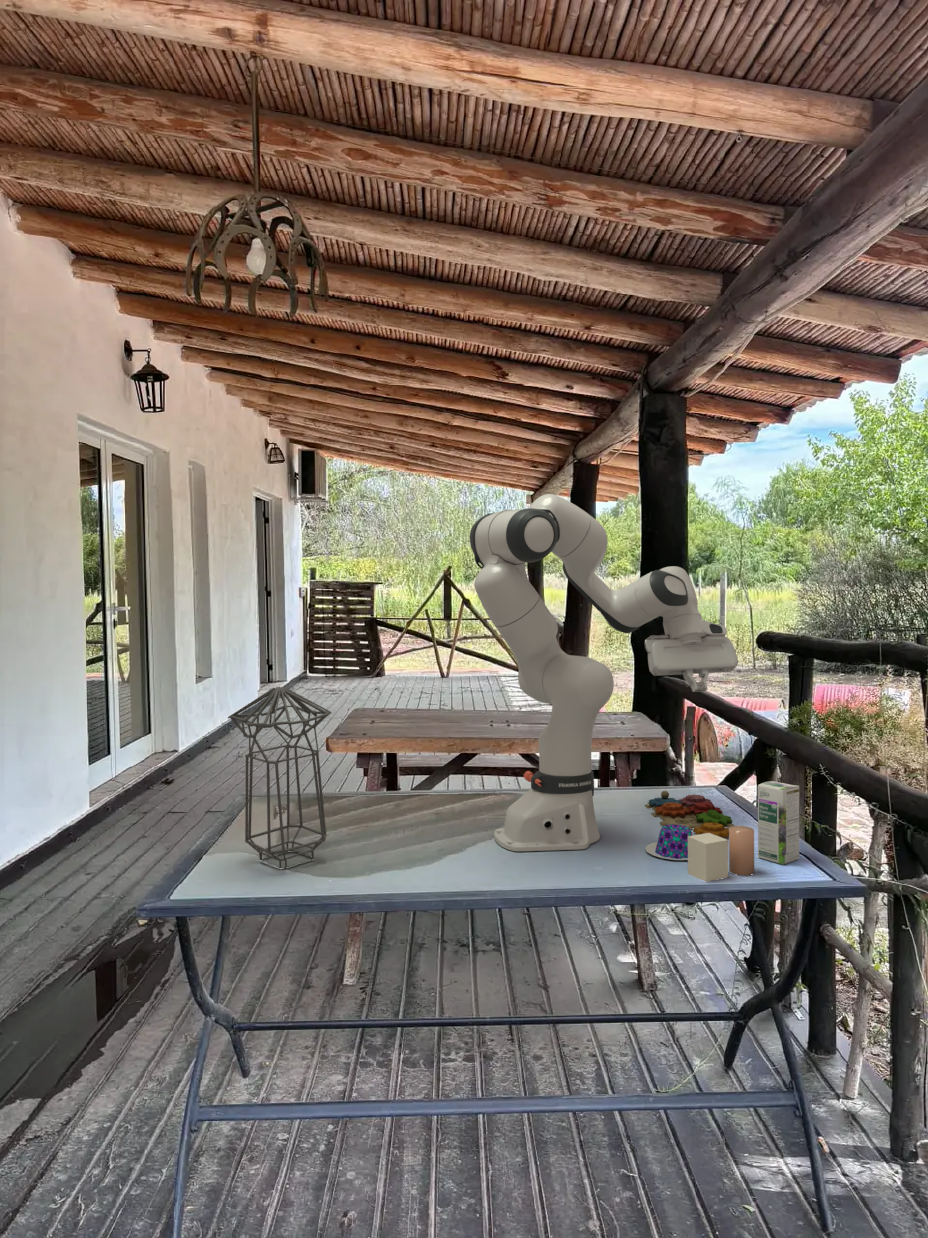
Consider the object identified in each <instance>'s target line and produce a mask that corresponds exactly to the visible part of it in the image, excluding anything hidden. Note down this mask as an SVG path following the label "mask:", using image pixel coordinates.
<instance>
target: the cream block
mask: <svg viewBox="0 0 928 1238" xmlns="http://www.w3.org/2000/svg"><path fill="white" fill-rule="evenodd" d="M687 859H688V860H687V874H688V875H689V876H692V877H694V878H696V879H698V878H699V879H698V880H700V879H701V881H702V880H704V881H706V882H705V883H708V882H707V881H711V880H716V881H718V880H717V879H721V878H725V877H728V878H729V839H727V838H725V837H719V836H716V835H714V834H711V833H705V834H699V835H696V834H692V836H688V858H687ZM721 880H722V879H721ZM704 881H703V882H704ZM711 882H712V881H711Z"/></svg>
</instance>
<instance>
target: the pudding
mask: <svg viewBox="0 0 928 1238" xmlns="http://www.w3.org/2000/svg"><path fill="white" fill-rule="evenodd" d="M658 834H659V835H658V838H657V841H654V842H652V843H649V844H648V845H646V846H645V851H646V853H648V854H650V855H651V856H655V857H658V858H660V859H667V860H671V861H688V836H693V831H692V830H690V829H689V828H688V827H687V826H683V825H674V824H670V825H665V826H662V827H661V828H660V830H659V833H658Z"/></svg>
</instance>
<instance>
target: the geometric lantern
mask: <svg viewBox="0 0 928 1238" xmlns="http://www.w3.org/2000/svg"><path fill="white" fill-rule="evenodd" d="M280 698H281V700H282V704H283V705H282V706H280V707H278V706H279V702H280ZM286 700H287V701H288V703H289V704H290V705H287V701H286ZM260 701H262V702H260ZM259 702H260V704H258V705H257V707H256V708H254V710H253V711H252V712H250V713H242V712H244V711H245V710H247V709H249V708H251V707H253V706H254V705H256V704H257V703H259ZM294 702H295V703H296V704H297V705H298V706H297V705H296V704H295V703H294ZM269 704H270V705H269ZM268 706H269V708H268V711H267V712H264V710H265V709H266V708H267V707H268ZM309 706H310V707H312V708H313V709H315V710H312V708H310V707H309ZM288 708H292V709H293V710H294V712H295V713H296V715H297V716H298V718H299V719H300V720H295V721H291V717H290V714H289V710H288ZM278 711H280V712H279V713H278V715H277V712H278ZM284 712H285V715H286V721H279V719H280V718H281V716H282V715H283V714H284ZM301 712H303V713H306V715H307V714H308V715H307V718H305V717H304V716H303V714H302V713H301ZM273 714H274V716H273ZM331 714H332V711H330V710H328V709H327V708H325V707H323V706H321V705H319V704H317V703H315V702H313V701H312V700H310V699H308V698H305V696H302V695H300V694H298V693H296V692H295V691H293V690H291V689H290V688H289V689H288V688H287V687H285V686H276V687H272V688H271V689H270V690H268V691H266V692H265V693H262V694H261V695H260V696H258V697H257V698H256V699H254V700H252V701H251V702H249V703H247V704H245V705H244V706H243V707H241V708H239V709H238V710H237V711H235V712H234V713H232V714H231V715H228V717H227V719H230V720H231V721H232V722H233V724H234V725H235V726H236V727H237V728H238V730H240V732H241V733H242V734H243V736H242V737H244V738H248V753H247V754H245V755H244V757H245V806H244V807H245V809H244V811H245V823H244V824H245V828H244V829H245V831H244V833H245V835H244V842H245V843H246V844H248V845H249V846H250V847H251V848H252V849H254V851H256V852H257V853H258V855H259V861H260V860H262V858H263V856H266V857H271V858H270V859H274V860H276V861H278V862H279V863H278V864H279V866H278V867H279V868H283V867H282V862H283V861H284V868H286V867H289V866H292V865H295V864H296V863H295V864H291V865H289V866H288V860H289V859H292V858H296V857H299V856H304V855H308V853H311V855H310V856H312V858H311V859H314V860H315V857H314V855H315V854H314V851H315V850H316V849H317V848H318V847H319V846H320V845H322V844H323V842H326V840H327V836H328V835H327V826H326V818H325V815H326V814H325V808H324V807H325V805H324V799H323V798H324V797H323V795H324V794H323V786H322V775H321V764H320V756H319V755H320V754H319V752H320V751H319V744H318V739H317V729H316V728H317V727H318V725H320V724H321V723H322V722H323V721H324V720H325V719H326V718H327V717H329V716H330V715H331ZM276 715H277V716H276ZM311 715H313V716H314V717H311ZM260 716H261V717H263V716H265V719H264V721H263V722H260V721H259V720H260ZM244 717H246V718H244ZM252 717H253V718H252ZM251 718H252V719H251ZM272 718H273V719H272ZM250 719H251V721H250ZM272 720H273V721H272ZM237 721H238V722H239V721H240V722H241V725H240V724H239V723H238V722H237ZM255 721H256V722H255ZM268 721H269V722H268ZM312 721H314V723H313V724H310V722H312ZM297 724H302V729H301V731H300V733H298V734H295V735H294V733H293V728H292V725H297ZM245 725H246V726H247V727H248V728H247V729H248V732H246V729H245ZM282 725H288V726H289V732H290V733H288V732H287V731H285V730H284V729H283V728H282V727H280V726H282ZM251 727H255V731H254V733H253V734H252V729H251ZM307 727H308V728H307ZM270 728H273V729H274V730H275V732H276V733H277V734H278V735H279V736H280V737H281V738H282V739H283V741H284V742H285V743H286V744H284V745H281V746H276V747H270V748H265V749H263V748H262V747H261V745H260V743H259V742H258V739H257V735H258V734H259V733H260V732H262V730H263V729H270ZM306 728H307V729H306ZM312 730H313V731H314V738H315V744H316V749H313V745H312V744H311V741H310V739H309V737H308V734H307V733H309V732H310V731H312ZM248 733H249V734H248ZM282 733H283V734H284V735H285V736H286V737H288V738H289V740H286V738H285V737H284V736H283V735H282ZM302 736H304V738H305V740H306V742H307V745H308V747H309V748H308V747H304V746H300V745H298V744H299V742H300V740H301V738H302ZM251 739H252V741H251ZM293 739H296V741H295V743H294V745H292V744H290V743H291V741H292V740H293ZM255 744H256V747H257V748H258V750H255V751H254V746H255ZM282 748H283V750H282V752H281V753H280V755H279V756H278V758H277V759H276V760H269V759H268V757H267V755H266V754H265V752H267V751H272V750H277V749H282ZM290 749H294V757H290ZM298 749H302V750H305V751H309V752H311V753H309V754H305V755H304V754H303V755H300V756H298ZM285 750H286V758H285V759H284V758H283V759H281V757H282V755H283V754H284V752H285ZM259 753H261V755H262V757H263V758H264V759H262V758H258V757H255V756H254V754H259ZM307 757H311V760H312V767H313V768H312V769H313V777H314V784H315V792H316V801H317V807H318V808H317V809H318V817H319V818H318V819H319V825H320V831H319V830H316V829H313V828H312V827H311V828H310V827H308V826H305V825H303V809H302V799H301V797H302V796H301V787H300V786H301V784H300V773H299V762H298V760H299V759H302V758H307ZM254 760H257V761H260V762H263V763H265V764H266V811H267V812H266V816H267V822H266V823H267V825H266V826H267V830H265V831H262V832H258V833H255V834H252V807H253V806H252V805H253V772H254V771H253V769H254V765H253V764H254ZM292 760H294V761H295V762H294V764H295V765H294V767H295V777H296V790H297V803H298V804H297V805H298V813H299V814H298V817H299V824H290V822H291V821H290V820H291V819H290V816H291V812H290V810H291V808H290V761H292ZM283 762H286V825H284V824H283V823H284V821H283V813H282V812H283V811H282V801H281V786H280V775H279V774H280V773H279V763H283ZM270 764H272V765H274V768H275V781H276V792H277V805H278V816H279V817H278V820H279V827H275V828H273V829H271V789H270V788H271V783H270V781H271V779H270V778H271V777H270ZM289 828H298V829H297V831H296V833H295V835H294V836H293V839H292V840H290V829H289ZM284 829H286V836H287V839H286V840H285V837H284V834H285V833H284ZM301 829H304V830H307V831H310V832H313V833H314V834H317V835H320V836H321V837H320V838H319V839H318V840H315V841H314V840H313V841H311V842H307V843H305V844H304V843H300V842H297V841H296V839H297V837H298V834H299V832H300V830H301ZM278 831H280V840H281V841H280V843H277V844H275V845H272V843H271V840H272V839H271V834H272V833H274V832H278ZM265 835H267V847H266V848H264V847H262V846H260V845H258V844H256V843H255V842H254V840H253V839H254V838H257V837H260V836H265ZM285 844H286V846H285ZM289 844H291V847H289ZM294 844H295V845H294ZM271 845H272V846H271ZM279 846H281V849H278V850H272V849H274V848H277V847H279ZM302 848H309V850H306V851H302V852H300V851H297V850H298V849H302ZM288 851H295V852H298V853H299V854H298V853H295V852H294V853H295V854H293V855H290V856H287V857H286V853H285V852H288ZM281 853H283V854H282V855H283V858H279V857H278V856H275V855H277V854H281ZM302 854H304V855H302ZM262 861H263V860H262Z"/></svg>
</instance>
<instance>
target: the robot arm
mask: <svg viewBox="0 0 928 1238" xmlns="http://www.w3.org/2000/svg"><path fill="white" fill-rule="evenodd" d="M608 542H609V541H608V534H607V532H606V529H605V527H604V526H603V524H601V523H600V522H599V521H598V520H597V519H595V518H594V517H593V516H592V515H591V514H589V513H588V512H586V511H585V510H584V509H582V508H580V507H579V506H578V505H576V504H574V503H572V502H570V501H569V500H567V499H565V498H563V497H561V496H558V495H556V494H552V493H546V494H543V495H541V496H539V497H538V498H536V499H535V500H534V501H533V502H532V503H531V504H530V505H529V508H522V509H503V510H500V511H496V512H491V513H487V514H485V515H483V516H481V517H480V518H479V519H477V520H476V521H475V522H474V523H473V525H472V527H471V528H470V532H469V543H470V544H469V545H470V548H471V550H472V553H473V555H474V563H475V564H476V566H478V567H479V568H480V569H481V570H479V572H478V573H477V575H476V577H475V580H474V588H475V592H476V595H477V597H478V599H479V602H480V603H481V605H482V607H483V609H484V611H485V612H486V614H487V616H488V618H489V620H490V621H491V623H492V624H493V626H494V627H495V628H496V630H497V632H498V634H500V636H501V637H502V639H503V641H504V642H505V643H506V644H507V646H508V648H509V649H510V650H511V652H512V654H513V657H514V658H515V661H516V663H517V666H518V667H517V668H518V675H517V680H518V685H519V687H520V689H521V691H522V692H523V693H524V694H525V695H526V696H528V697H530V698H531V699H533V700H535V701H537V702H539V703H541V704H542V703H544V704H548V705H551V713H550V717H549V721H548V723H547V725H546V727H544V728H543V729H542V730H541V731H540V734H539V736H538V754H539V755H538V758H539V759H538V761H539V762H538V766H539V769H538V770H537V771H535V773H533V772H532V771H530V770H526V771H525V772H524V773H523V779H524V780H525V781H527V782H529V783H530V789H529V790H528V791H526V792H525V793H524V794H523V795H521V796H520V797H519V798H518V799H517V800H516V801H515V802H513V803H512V804H510V805H509V806H508V808H507V810H506V811H505V812H506V813H505V817H504V822H503V827H501V828H500V827H499V828H497V829H495V830H494V833H493V838H494V841H495V842H496V843H497V844H498V845H499V846H500V847H502V848H504V849H507V850H509V851H512V852H537V851H538V852H539V851H540V852H541V851H544V852H545V851H566V850H568V851H571V850H572V851H573V850H585V849H587V848H589V846H590V845H592V844H593V843H596V842H597V841H599V840H600V839H601V834H600V832H599V828H598V825H597V818H596V813H595V806H594V798H593V797H594V796H595V795H594V794H595V777H594V770H592V743H593V742H592V740H593V739H592V738H593V733H594V732H593V731H594V727H595V723H596V720H597V717H598V715H599V712H600V710H601V709H602V708H603V707H604V706H605V705H606V704H607V703H608V702H609V701H610V699H611V697H612V695H613V692H614V687H615V686H614V685H615V682H614V681H615V680H614V676H613V673H612V671H611V670H610V668H609V667H608V666H607V665H605V664H604V663H602V662H601V661H598V660H596V659H594V658H591V657H589V656H583V655H574V654H573V655H572V654H568V653H566V652H565V651H563V649H562V648H561V647H560V645H559V642H558V639H557V635H558V631H559V625H558V622H557V621H556V619H555V617H554V615H553V614H552V612H551V611H550V610H549V608H548V606H547V605H546V604H545V602H544V601H543V599H542V597H541V596H540V594H539V593H538V592H537V590H536V589H535V587H534V586H533V584H531V582H530V580H529V578H528V577H529V576H528V574H527V570H526V563H528V564H531V563H532V564H533V563H536V562H538V561H541V560H543V559H544V558H546V557H547V556H549V554H551V553H552V554H554V556H556V557H557V558H559V559H560V560H561V561H562V570H563V574H564V576H565V577H566V579H567V580H568V582H569V583H570V584H571V585H572V586H573V587H574V588H575V589H576V590H577V591H578V592H579V593H580V594H581V595H582V596H583V597H584V598H585V599H586V600H587V601H588V602H589V603H590V604H591V605H592V606H593V607H594V608H595V609H596V610H597V611H598V613H600V614H601V615H602V617H603V619H604V620H605V621H606V623H607V624H608V625H609V626H610V627H611V628H612V629H613V630H614V631H618V632H620V633H623V634H630V633H633V632H635V631H637V630H638V629H639V628H641V627H642V626H643V625H644V624H647V623H649V622H651V621H653V620H654V619H656V618H657V619H658V618H659V617H662V619H663V620H662V621H663V622H662V627H663V630H664V634H660V635H656V634H655V635H654V634H652V635H651V634H650V635H649V637H647V638H645V639H644V649H645V651H646V653H647V662H648V663H647V665H648V669H649V672H650V674H652V675H653V676H655V677H656V676H676V675H682V676H683V679H684V680H685V681H686V683H688V684H689V685H690V688H691V691H692V692H693V693H696V692H697V693H698V692H699V693H700V692H706V691H708V684H707V681H708V678H709V675H710V674H713V673H714V674H716V673H718V674H719V673H730V672H732V671H733V670H734V669H736V668H737V666H738V664H739V660H738V656H737V655H738V654H737V653H736V650H735V646H734V644H733V643H732V641H731V639H730V638H729V637H727V636H726V635H727V633H728V630H727V628H726V626H724V625H723V624H718V623H715V622H714V623H713V622H711V621H707V620H705V619H703V617H702V614H701V613H700V611H699V608H698V598H697V594H696V591H695V588H694V585H693V583H692V580H691V578H690V576H689V575H688V572H687V571H686V570H685V569H684V568H682V567H680V566H676V565H675V566H674V565H673V566H666V567H662V568H660V569H655V570H653V571H650V572H649V573H646V574H645V575H643V576H641V577H639V578H638V579H637V580H635V581H633V582H631V583H629V584H628V585H627V584H626V585H625V586H624V587H622V588H618V589H611V588H610V587H609V586H608V584H606V583H605V582H604V581H603V580H602V579H601V578H600V577H599V576H598V574H596V573H595V572H596V570H597V569H598V567H600V565H601V564H602V562H603V560H604V558H605V555H606V553H607V549H608ZM694 674H697V675H698V678H701V680H700V681H697V680H696V679H695V678H694V677H693V675H694Z"/></svg>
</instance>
